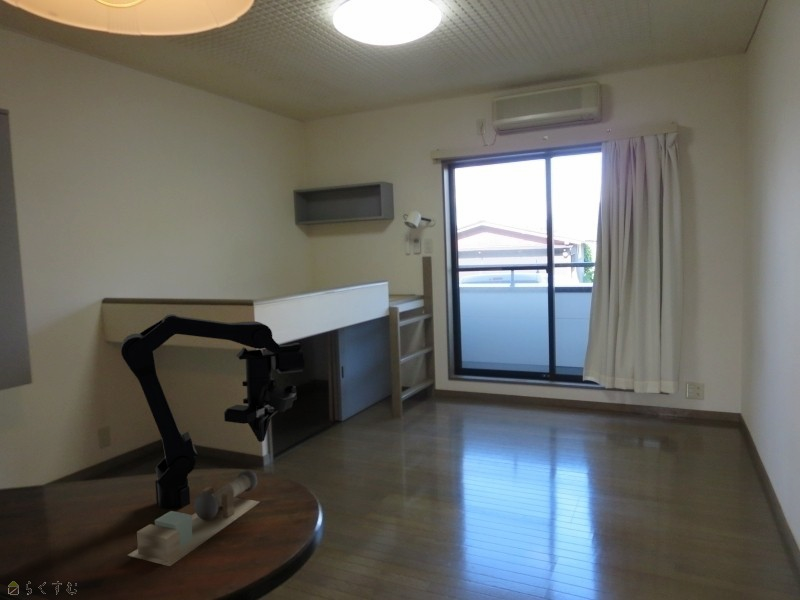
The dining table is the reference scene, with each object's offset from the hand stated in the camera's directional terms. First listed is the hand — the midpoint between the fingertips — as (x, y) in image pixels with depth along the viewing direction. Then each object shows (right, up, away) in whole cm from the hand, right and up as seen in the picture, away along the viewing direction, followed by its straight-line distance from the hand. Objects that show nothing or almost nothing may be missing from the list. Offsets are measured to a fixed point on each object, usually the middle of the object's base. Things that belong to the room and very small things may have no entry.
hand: (261, 441), depth 127 cm
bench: (-8, -13, -18) cm, 24 cm away
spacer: (-10, -13, -25) cm, 30 cm away
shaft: (-4, -11, -11) cm, 16 cm away
